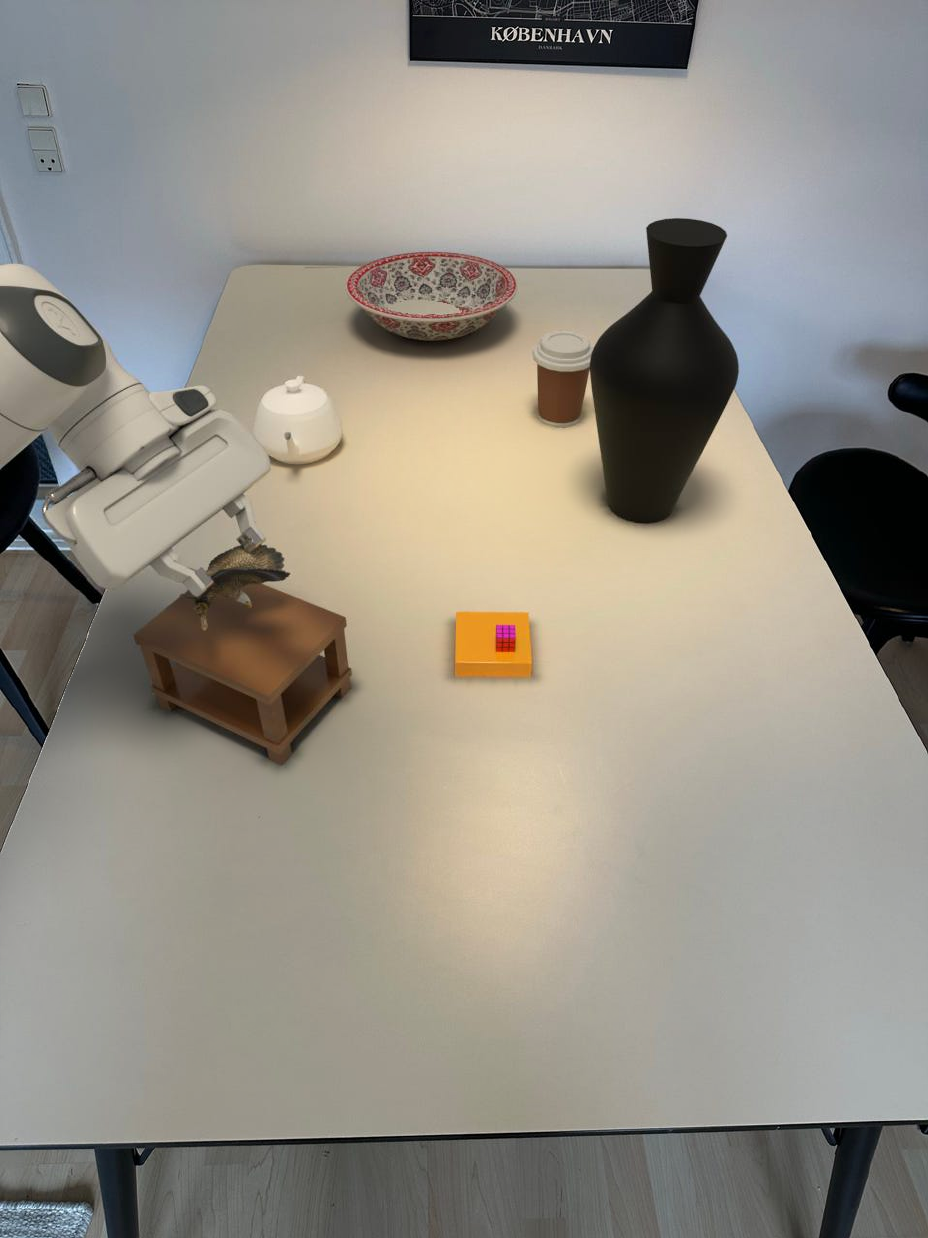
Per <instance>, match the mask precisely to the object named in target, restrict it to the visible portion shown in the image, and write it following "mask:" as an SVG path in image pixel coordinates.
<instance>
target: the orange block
mask: <svg viewBox="0 0 928 1238" xmlns="http://www.w3.org/2000/svg"><path fill="white" fill-rule="evenodd" d="M529 614H530V613H529V612H523V611H522V612H521V611H520V612H519V611H515V612H512V611H456V612H455V649H454V653H455V654H454V660H455V661H454V676H455V677H469V678H470V677H471V678H472V677H475V678H478V677H479V678H531V677H532V671H533V670H532V668H533V658H532V657H533V656H532V644H531V643H532V642H531V629H530V628H531V627H530V626H531V625H530V615H529Z"/></svg>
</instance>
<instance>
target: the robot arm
mask: <svg viewBox="0 0 928 1238" xmlns="http://www.w3.org/2000/svg"><path fill="white" fill-rule="evenodd" d="M215 406H217V398H216V396H215V394H214V393H213V392H212V391H211V390H210V389H209V388H208V387H207V386H205V385H195V386H190V387H183V388H178V389H171V390H160V391H159V390H158V391H152V392H150V391H149V390H148V388H146V386H145V385H144V383H142V382H141V381H140V380H139V378H137V377H136V376H134V375H133V374H131V373H130V372H128V371H127V370H126V369H125V368H124V367H123V366H122V365H121V364H120V362H119V361H118V359H117V358H116V356H115V355H114V352H113V350H112V348H111V345H110V344H109V343H108V341H107V340H106V339H105V338H104V336H103V335H102V334H101V333H100V332H99V331H98V329H97V328H96V327H95V326H94V324H92V322H91V321H90V320H89V319H88V318H87V317H86V316H85V315H84V314H83V312H81V310H80V309H79V308H77V306H75V305H74V304H73V302H72V301H70V299H68V298H67V297H66V295H64V294H63V293H62V292H61V291H60V290H59V289H58V288H57V287H56V286H54V285H53V284H52V282H50V281H49V280H48V279H47V278H45V277H44V275H42V274H41V273H39V272H38V271H36V270H35V269H34V267H31V266H30V265H27V264H22V263H5V264H1V265H0V471H1V470H2V469H3V467H4V466H6V465H7V464H8V463H10V462H11V460H13V459H14V458H15V457H16V456H18V455H19V454H20V453H21V452H22V451H23V450H24V449H26V448H27V447H28V446H29V445H30V444H31V443H32V442H34V440H36V439H37V438H38V437H39V436H40V435H42V434H43V433H44V432H46V430H47V429H48V430H49V432H50V434H51V436H52V438H53V439H52V440H53V441H54V442H55V444H56V445H57V446H58V448H59V449H60V450H61V451H62V452H63V454H65V455H66V457H68V460H70V461H71V462H72V463H73V464H74V466H75V467H76V468H77V469H78V470H79V472H78V473H76V474H75V475H73V476H72V477H70V478H69V479H68V480H66V482H64V483H63V484H62V485H59V486H56V487H54V488H52V489H51V490H49V491H48V492H47V493H46V494H45V500H44V502H43V504H42V507H41V514H42V519H43V521H44V523H45V524H46V525H47V526H48V528H49V529H50V530H51V531H52V532H53V533H54V534H55V535H56V537H58V538H59V539H60V540H62V541H64V542H65V543H66V545H67V547H68V548H69V549H70V551H71V552H72V554H73V555H74V557H75V559H76V560H77V561H78V563H80V566H81V567H82V568H83V569H84V571H85V572H86V573H87V575H88V576H89V577H90V578H91V580H92V581H93V582H94V583H96V584H95V585H96V586H98V587H100V588H102V589H106V590H110V591H116V590H117V591H118V589H120V588H121V587H122V586H123V585H125V584H126V583H127V582H129V581H130V580H131V579H132V578H134V577H135V576H137V575H138V574H140V573H141V572H142V571H143V570H145V569H146V568H147V567H148V566H150V567H152V569H153V570H154V571H155V572H156V574H158V576H160V577H163V578H166V579H169V580H172V581H173V582H177V583H179V584H182V585H184V587H185V588H186V589H187V591H188V590H189V591H190V592H191V593H192V594H193V595H194V596H196V597H198V596H199V595H201V594H202V593H203V592H205V591H206V590H207V589H208V588H209V587H210V586H212V585H213V584H214V582H213V579H212V578H211V577H210V576H207V572H206V571H207V570H206V569H204V568H203V566H200V567H199V568H198V569H197V570H196V572H195V571H193V570H191V569H189V568H190V567H189V568H187V567H188V566H187V567H186V566H185V565H183V564H180V563H178V562H176V561H178V560H179V559H180V558H179V555H178V554H177V553H176V552H175V551H174V550H173V548H174V547H175V546H176V545H177V544H179V543H180V542H181V541H183V540H184V539H185V538H186V537H188V536H189V535H190V534H192V533H193V532H195V531H196V530H197V529H199V528H200V527H201V526H203V525H204V524H205V523H207V522H208V521H209V520H210V519H212V518H213V517H215V515H217V514H218V513H219V512H221V511H222V510H223V511H224V513H225V514H226V515H227V516H228V518H230V519H233V518H234V517H235V519H236V522H237V525H238V528H239V531H240V532H239V533H240V535H239V536H238V537H237V538H236V539H235V540H236V541H237V542H238V543H239V544H240V545H243V546H244V549H245V550H246V551H247V552H249V553H251V552H252V551H253V550H255V549H256V548H257V547H258V546H260V545H263V543H264V542H266V539H267V538H266V536H265V534H264V533H263V531H261V530H260V528H259V527H258V526H257V525H256V520H255V516H254V515H255V514H254V511H253V506H252V502H251V501H250V500H249V499H248V498H247V497H246V495H245V493H246V492H247V491H249V490H250V489H251V488H252V487H254V486H255V485H257V484H258V483H259V482H260V481H261V480H263V479H264V478H265V477H266V476H267V475H268V474H269V473H270V472H271V470H272V466H271V460H270V459H271V458H270V456H269V455H268V454H267V453H266V451H265V450H264V449H263V447H262V446H261V445H260V444H259V443H258V441H257V440H256V439H255V438H254V435H252V433H251V432H250V430H248V429H247V428H246V427H245V426H244V425H243V424H242V422H241V421H239V419H237V418H236V416H234V415H233V414H231V413H230V412H228V411H226V410H223V409H214V408H215ZM50 505H52V506H51V507H49V506H50ZM194 572H195V573H194Z"/></svg>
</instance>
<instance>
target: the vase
mask: <svg viewBox="0 0 928 1238" xmlns="http://www.w3.org/2000/svg"><path fill="white" fill-rule="evenodd" d="M645 231H646V242H647V253H648V262H649V274H650V283H651V292H650V293H648V294H647V295H646V296H645V297H644V298H643V299H642V300H641V301H640V302H638V303H637V305H635V306H634V307H633V308H631V310H629V311H627V313H625V314H624V315H623V316H621V317H620V318H619V319H618V320H616V321H615V322H613V323H612V324H611V325H610V326H609V327H608V328H606V330H605V331H604V332H603V333H602V334H601V335H600V336H599V337H598V339H597V341H596V343H595V345H594V346H593V347H592V348H593V351H592V354H591V359H590V366H589V367H590V370H589V375H590V376H589V377H590V386H591V394H592V401H593V409H594V415H595V423H596V429H597V438H598V444H599V452H600V457H601V458H600V459H601V464H602V472H603V478H604V486H605V487H604V488H605V494H606V500H607V501H606V502H607V507H608V508H609V510H610V512H612V513H613V514H614V515H615V516H616V517H618V518H619V519H622V520H624V521H626V522H631V523H634V524H644V525H645V524H647V525H648V524H649V525H650V524H654V523H655V524H656V523H659V522H662V521H664V520H665V519H667V518H668V517H669V516H670V515H671V514H672V512H673V510H674V508H675V506H676V504H677V502H678V500H679V499H680V496H681V494H682V492H683V490H684V488H685V486H686V485H687V483H688V481H689V479H690V477H691V475H692V474H693V471H694V469H695V468H696V465H697V464H698V462H699V461H700V458H701V456H702V454H703V452H704V450H705V448H706V446H707V444H708V442H709V441H710V439H711V437H712V434H713V433H714V431H715V429H716V427H717V425H718V423H719V421H720V419H721V417H722V415H723V414H724V412H725V409H726V407H727V406H728V403H729V401H730V399H731V397H732V395H733V392H734V390H735V388H736V386H737V383H738V379H739V374H740V366H739V359H738V354H737V351H736V350H735V347H734V345H733V343H732V342H731V340H730V338H729V336H728V335H727V334H726V333H725V332H724V330H723V329H722V328H721V326H720V325H719V324H718V322H717V321H716V319H715V318H714V316H713V315H712V314H711V312H710V311H709V309H708V307H707V306H706V304H705V302H704V301H703V299H702V298H701V297H702V296H701V295H702V293H703V290H704V288H705V286H706V284H707V282H708V279H709V277H710V275H711V272H712V270H713V268H714V266H715V263H716V261H717V259H718V257H719V255H720V253H721V251H722V249H723V246H724V245H725V242H726V240H727V237H728V233H727V231H726V230H725V229H724V228H723V227H721V226H719V225H717V224H714V223H712V222H709V221H705V220H701V219H694V218H684V217H683V218H682V217H674V218H664V219H658V220H654V221H653V222H651V223H649V224H648V225H647V226H646V227H645Z"/></svg>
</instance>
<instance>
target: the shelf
mask: <svg viewBox="0 0 928 1238" xmlns="http://www.w3.org/2000/svg"><path fill="white" fill-rule="evenodd" d="M240 590H241V591H242V592H243V593H245V594H246V595H247V596H248V597H249V599H250V601H251V604H252V607H251V608H249V607H248V606H247V605H246V604H243V603H241V602H237V601H234V600H230V599H228V598H225V597H224V596H222V595H218V596H216V597H215V598H213V599H212V601H211V604H210V607H209V609H208V611H207V616H206V618H207V624H208V628H207V629H206V631H203V630H202V627H201V626H202V624H201V622H200V619H199V616H198V614H197V613H195V612H194V610H193V608H194V607H195V606H197V605H196V604H194V603H193V602H192V601H191V600H190V599H188V598H187V597H180V596H179V597H178V598H176V599H175V600H174V601H173V602H171V604H169V605H168V606H166V608H164V609H163V610H162V611H161V612H159V613H158V614H157V615H155V616H154V617H153V618H152V619H151V620H150V621H148V622H147V623H146V624H145V625H144V626H142V627H141V628H140V629H138V630H137V631H136V632H135V633H134V634H132V635H133V639H134V642H135V645H138V646H139V647H140V650H141V653H142V657H143V659H144V663H145V666H146V669H147V672H148V675H149V678H150V682H151V685H150V686H149V688H150V691H151V694H153V695H155V698H156V699H157V702H158V706H159V707H161V708H163V709H166V710H167V711H173V710H174V709H175V708H176V707H177V706H178V707H180V708H182V709H183V710H185V711H188V712H190V713H193V714H194V715H196V716H199V717H200V718H203V719H205V720H207V721H209V722H211V723H213V724H216V725H218V726H220V727H221V728H224V729H226V730H228V731H230V732H232V733H234V734H236V735H238V736H240V737H243V738H245V739H247V740H249V741H251V742H252V743H255V744H256V745H259V746H261V747H264V748H265V749H266V752H267V757H268V759H269V760H271V761H272V762H275V763H276V764H279V765H280V766H283V765H284V764H285V762H286V761H287V760H288V759H289V758H290V757H291V756H292V754H293V752H292V746H291V743H292V742H293V740H295V738H296V737H297V736H298V735H299V734H300V733H301V732H302V731H303V730H304V728H306V727H307V725H308V724H309V723H310V722H312V720H313V719H314V717H315V716H316V715H317V714H318V713H319V712H320V711H321V710H322V709H323V708H324V707H325V706H326V704H328V702H329V701H330V700H331V699H332V698H333V697H334V696H336V697H339V698H341V699H343V698H344V697H345V696H346V694H347V693H348V692H349V691H350V690H351V689H352V688H351V677H352V675H353V671H352V668H351V667H349V661H348V651H347V650H348V649H347V642H346V641H347V640H346V633H345V629H346V628H347V626H348V624H347V617H346V616H344V615H341V614H339V613H336V612H334V611H331V610H328V609H326V608H324V607H322V606H319V605H317V604H314V603H312V602H309V601H306V600H304V599H301V598H299V597H296V596H294V595H292V594H289V593H286V592H284V591H282V590H279V589H277V588H274V587H271V586H270V585H267V584H265V583H261V584H251V585H246V586H244V587H242V588H241V589H240ZM184 593H191V592H190V591H189V590H188V589H187V590H186V591H185V592H184ZM201 595H202V594H201ZM201 595H199V596H198V597H197V598H198V599H199V598H200V597H201ZM322 652H323V654H324V656H323V655H321V654H322ZM171 661H172V662H175V663H174V665H172V664H171Z"/></svg>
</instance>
